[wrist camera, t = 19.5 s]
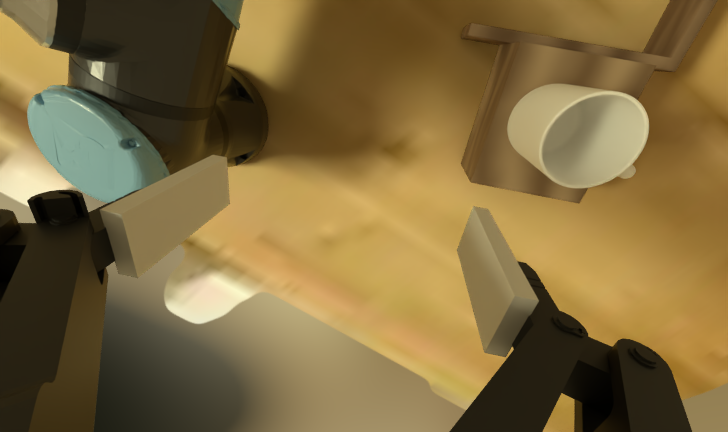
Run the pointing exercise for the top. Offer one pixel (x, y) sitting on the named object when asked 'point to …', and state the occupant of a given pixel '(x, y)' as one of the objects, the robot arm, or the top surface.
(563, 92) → the mug
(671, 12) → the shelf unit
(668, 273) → the top surface
